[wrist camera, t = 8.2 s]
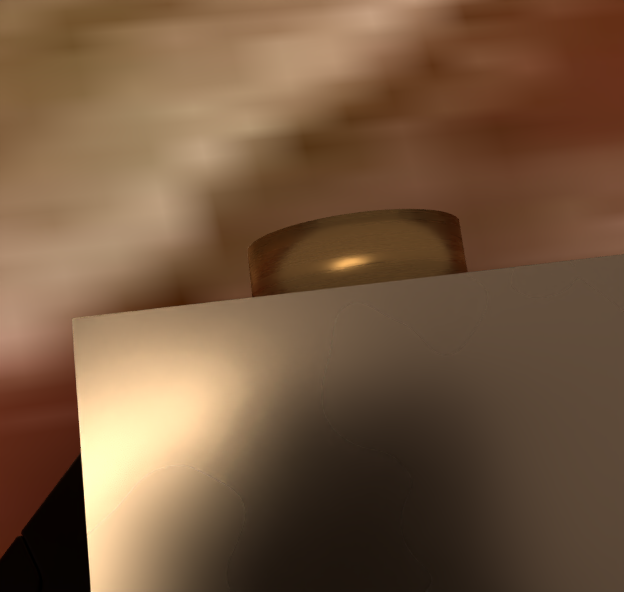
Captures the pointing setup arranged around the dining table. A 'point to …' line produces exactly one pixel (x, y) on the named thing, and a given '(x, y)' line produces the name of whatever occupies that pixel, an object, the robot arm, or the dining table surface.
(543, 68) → the dining table surface
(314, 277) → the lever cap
